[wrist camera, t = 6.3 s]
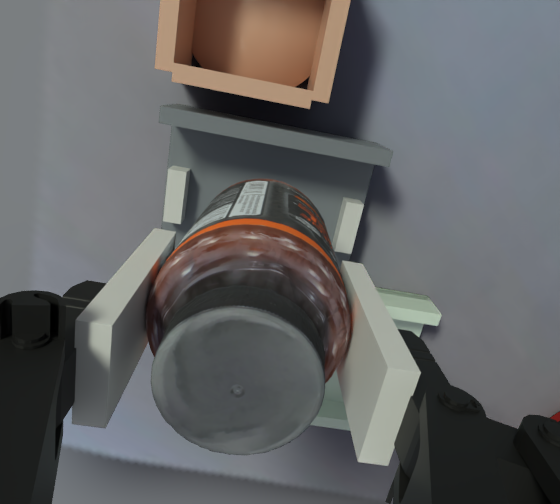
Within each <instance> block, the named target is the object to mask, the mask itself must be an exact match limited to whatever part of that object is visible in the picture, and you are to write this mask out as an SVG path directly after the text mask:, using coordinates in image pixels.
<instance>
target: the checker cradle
mask: <svg viewBox="0 0 560 504" xmlns="http://www.w3.org/2000/svg"><path fill="white" fill-rule="evenodd" d="M159 123H162V124H167V125H172V126H171V136H170V146H169V156H168V166H167V176H166V186H165V196H164V206H163V216H162V226H161V229H163V230H168V231H174V232H176V239H175V248H176V247H177V246H178V244H179V243H180V242H181V241H182V239H183V238H184V237H185V235H186V234H187V232H188V231H189V230H190V228H191V227H192V226H193V225H194V223H195V222H196V220H197V219H198V218H199V216H200V215H201V214H202V212H203V211H204V210H205V208H206V207H207V206H208V205H209V204H210V202H211V201H212V200H213V199H214V198H215V197H216V196H217V195H218V194H220V193H221V192H222V191H223V190H225V189H227V188H228V187H230V186H231V185H233V184H236V183H238V182H241V181H245V180H251V179H274V180H277V181H282V182H284V183H287V184H289V185H291V186H292V187H294V188H296V189H298V190H299V191H300V192H302V193H303V194H304V195H305V196H307V197H308V198H309V199H310V201H311V202H312V203H313V204H314V206H315V207H316V208H317V209H318V211H319V213H320V214H321V216H322V218H323V220H324V222H325V226H326V229H327V232H328V235H329V238H330V242H331V245H332V248H333V252H334V254H335V257H336V260H337V263H338V266H339V270H340V268H341V264H342V260H343V261H349V260H350V256H351V253H352V249H353V245H354V241H355V237H356V234H357V230H358V226H359V222H360V218H361V214H362V211H363V207H364V203H365V199H366V195H367V191H368V187H369V183H370V180H371V176H372V172H373V168H374V164H375V165H380V166H385V167H389V166H390V162H391V159H392V155H393V151H392V150H390V149H388V148H386V147H383V146H381V145H379V144H377V143H375V142H369V141H364V140H359V139H354V138H349V137H344V136H339V135H334V134H329V133H324V132H319V131H313V130H308V129H303V128H298V127H293V126H288V125H283V124H278V123H273V122H268V121H262V120H257V119H252V118H247V117H242V116H237V115H232V114H227V113H222V112H217V111H212V110H206V109H201V108H196V107H191V106H186V105H181V104H172V105H163V106H160V114H159ZM175 248H174V250H175Z"/></svg>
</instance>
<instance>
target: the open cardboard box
mask: <svg viewBox="0 0 560 504" xmlns="http://www.w3.org/2000/svg"><path fill="white" fill-rule="evenodd" d="M350 1H351V0H160V12H159V23H158V35H157V47H156V59H155V69H160V70H165V71H170V72H173V73H172V82H177V83H182V84H187V85H192V86H197V87H202V88H207V89H212V90H217V91H222V92H227V93H232V94H237V95H242V96H247V97H252V98H257V99H262V100H267V101H272V102H277V103H282V104H287V105H292V106H297V107H302V108H307V109H310V105H311V100H313V101H318V102H323V103H329V99H330V94H331V89H332V85H333V80H334V75H335V71H336V66H337V61H338V57H339V52H340V47H341V43H342V38H343V34H344V29H345V24H346V20H347V15H348V10H349V6H350ZM192 55H194V56H195V58H196V60H197V61H198V63H199V64H200V65H201V67H202V68H198V67H193V66H191V64H192ZM308 77H309V81H308V86H307V90H306V89H301V88H296V86H297V85H299V84H301V83H302V82H303V81H304V80H306V79H307V78H308Z"/></svg>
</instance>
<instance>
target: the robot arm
mask: <svg viewBox="0 0 560 504" xmlns="http://www.w3.org/2000/svg"><path fill="white" fill-rule="evenodd" d="M175 239H176V232H174V231H168V230H163V229H157V228H154V229H153V231H152V232H151V233H150V234H149V235H148V236H147V238H146V239H145V240H144V241H143V242H142V243H141V245H140V246H139V247H138V248H137V249H136V250H135V251H134V253H133V254H132V255H131V256H130V257H129V258H128V260H127V261H126V262H125V263H124V264H123V265H122V267H121V268H120V269H119V270H118V271H117V272H116V273H115V275H114V276H113V277H112V278H111V279H110V280H109V282H108V283H107V284H106V283H100V282H94V281H88V280H87V281H85V282H82V283H80V284H77V285H75V286H73V287H71V288H70V289H69V290H68V291H67V292H66V293H65V294H64V295H63V297H61V296H59V295H57V294H54V293H51V292H46V291H36V290H35V291H21V292H16V293H12V294H8V295H6V296H4V297H1V298H0V504H52V498H53V492H54V486H55V480H56V474H57V468H58V462H59V455H60V450H61V443H62V437H63V419H64V418H65V416H66V414H67V413H68V411H69V410H70V408H71V407H72V424H76V425H83V426H91V427H98V428H106V426H107V424H108V422H109V420H110V418H111V416H112V414H113V412H114V410H115V408H116V406H117V404H118V402H119V400H120V398H121V396H122V394H123V392H124V390H125V388H126V386H127V384H128V382H129V380H130V378H131V376H132V374H133V372H134V370H135V368H136V366H137V364H138V362H139V360H140V357H141V355H142V353H143V351H144V349H145V347H146V345H147V343H148V337H147V332H146V321H145V315H146V306H147V301H148V297H149V293H150V290H151V287H152V285H153V283H154V281H155V279H156V277H157V275H158V273H159V271H160V270H161V268H162V266H163V265H164V264H165V262H166V261H167V259H168V258H169V256H170V255H171V253H172V252H173V251H174V248H175ZM340 273H341V275H342V279H343V281H344V284H345V290H346V293H347V298H348V302H349V310H350V335H349V339H348V344H347V346H346V351H345V353H344V355H343V358H342V360H341V362H340V364H339V366H338V368H337V369H336V371H337V376H338V380H339V384H340V388H341V393H342V397H343V401H344V405H345V410H346V414H347V418H348V423H349V427H350V431H351V435H352V440H353V444H354V448H355V452H356V457H357V461H358V462H362V463H370V464H377V465H385V466H388V464H389V462H390V459H391V456H392V453H393V450H394V447H395V449H396V452H397V455H398V457H399V460H400V463H399V466H398V469H397V472H396V474H395V477H394V480H393V482H392V485H391V488H390V491H389V493H388V496H387V499H386V503H389V504H390V503H391V501H392V498H393V504H560V422H557V421H556V420H554V419H551V418H547V417H543V416H540V415H528V416H526V417H524V418H523V420H522V422H521V424H520V426H519V428H518V429H516V428H514V427H511V426H508V425H505V424H502V423H499V422H497V421H494V420H491V419H489V418H486V414H485V411H484V409H483V407H482V405H481V404H480V403H479V402H478V401H477V400H476V399H475V398H474V397H473V396H471V395H470V394H468V393H467V392H465V391H463V390H461V389H459V388H457V387H454V386H451V385H450V384H449V382H448V380H447V379H446V377H445V375H444V374H443V372H442V371H441V369H440V367H439V366H438V364H437V362H435V359H434V358H433V356H432V354H430V351H429V349H428V348H427V346H426V345H425V343H424V341H423V340H421V339H420V338H419V337H418V336H417V335H415V334H414V333H413V332H412V331H408V330H402V329H397V327H396V325H395V323H394V321H393V320H392V318H391V316H390V314H389V312H388V310H387V308H386V307H385V305H384V303H383V301H382V299H381V297H380V295H379V294H378V292H377V290H376V288H375V286H374V284H373V282H372V280H371V279H370V277H369V275H368V273H367V271H366V269H365V267H364V266H363V264H361V263H355V262H349V261H343V260H342V264H341V268H340Z"/></svg>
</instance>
